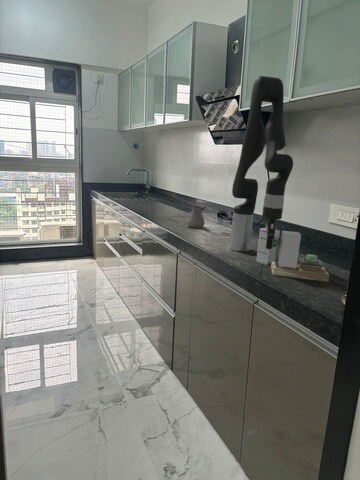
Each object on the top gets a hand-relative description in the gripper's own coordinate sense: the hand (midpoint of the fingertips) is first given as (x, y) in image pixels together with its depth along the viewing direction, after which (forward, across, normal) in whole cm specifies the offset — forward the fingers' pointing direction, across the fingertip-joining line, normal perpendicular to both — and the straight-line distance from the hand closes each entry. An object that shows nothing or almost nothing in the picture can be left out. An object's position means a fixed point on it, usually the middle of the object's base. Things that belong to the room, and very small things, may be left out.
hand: (267, 246), depth 142 cm
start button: (+6, +1, +17) cm, 18 cm away
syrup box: (+7, 0, 0) cm, 7 cm away
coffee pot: (+9, -67, -37) cm, 77 cm away
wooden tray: (+8, +12, +11) cm, 18 cm away
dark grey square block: (+8, +1, +17) cm, 19 cm away
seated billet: (+6, +12, +6) cm, 15 cm away
